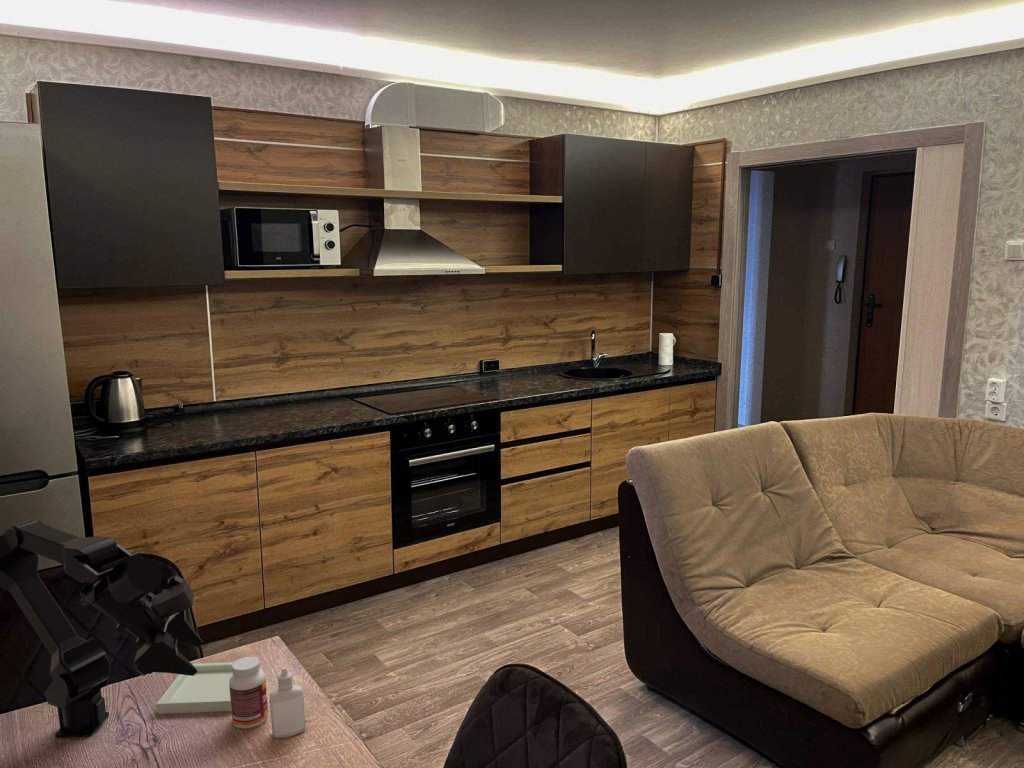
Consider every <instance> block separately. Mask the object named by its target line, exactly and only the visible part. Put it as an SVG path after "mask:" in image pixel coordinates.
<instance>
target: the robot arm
mask: <svg viewBox="0 0 1024 768" xmlns="http://www.w3.org/2000/svg"><path fill="white" fill-rule="evenodd" d="M39 556H41V557H44V558H46V559H48V560H51V561H53V562H57V563H59V564H61V565H63V568H64V573H65V574H66V575H68V576H69V577H71V578H72V579H74V580H76V581H77V582H79V583H86V584H85V585H84V586H83V588H82V589H81V590H80V591H79V594H80V597H81V598H80V605H81V606H83V607H86V606H87V605H89V604H90V605H92V606H93V607H94V608H96V609H97V610H99V611H100V612H101V613H103V614H104V615H106V616H107V617H108V618H110V619H111V620H112V621H114V622H115V623H116V624H117V625H116V627H115V629H116V630H117V631H118V632H120V633H122V631H124V630H126V631H128V632H129V633H130V634H132V635H133V636H134V637H136V641H135V644H136V645H138V646H139V647H140V648H139V649H138V650H137V652H136V654H135V657H134V661H133V670H134V671H135V672H137V673H138V674H140V675H141V676H142V677H145V676H146V675H151V674H152V673H162V674H163V673H164V674H174V675H179V674H181V675H189V676H194V675H195V674H196V673H197V669H196V668H195V667H194V666H193V665H192V664H193V663H191V661H189V659H187V658H186V656H184V655H183V654H182V653H181V652H180V651H179V650H178V641H179V642H182V643H185V644H187V645H189V646H193V647H197V648H199V647H200V646H202V645H203V640H202V639H201V638H200V636H199V634H198V633H197V631H196V630H195V629H194V627H193V626H192V625H191V623H190V621H189V619H188V618H187V615H186V613H187V612H186V610H188V609H190V608H191V607H192V606H193V605H194V598H195V594H194V592H193V591H192V589H191V582H190V581H187V580H186V578H185V579H183V578H182V577H180V576H178V575H176V574H175V575H173V576H171V577H169V578H168V579H167V582H166V588H164V589H162V591H161V592H159V593H157V594H154V593H152V592H153V591H155V590H156V589H157V588H158V587H160V585H161V583H162V581H163V576H164V574H163V571H162V568H161V565H160V564H158V563H157V562H156V561H155V560H153V559H150V558H147V557H143V555H142V554H141V551H137V552H134V553H131V552H130V551H128V550H127V549H126V548H125V547H123V546H122V545H120V544H119V543H117V542H116V540H115V539H113V538H111V537H107V536H86V537H81V536H80V537H79V536H77V535H75V534H71V533H68V532H66V531H63V530H60V529H57V528H55V527H52V526H50V525H47V524H44V523H43V522H42V521H41V520H39V519H29V520H27V521H26V520H25V521H23V522H19V523H16V524H13V525H11V526H10V527H9V528H7V529H6V530H5V531H4V532H3V533H2V534H1V535H0V588H1V589H3V590H6V591H7V592H9V593H10V594H11V596H12V598H13V599H14V601H15V602H16V604H17V605H18V607H19V608H20V610H21V611H22V613H23V614H24V616H25V618H26V619H27V620H28V622H29V624H30V625H31V627H32V628H33V630H34V631H35V633H36V635H37V636H38V639H40V642H41V643H42V644H43V646H44V647H45V649H46V650H47V652H48V654H49V655H50V657H51V658H50V659H51V660H50V669H49V675H50V677H51V679H52V682H51V683H50V684H49V685H48V687H47V688H46V690H45V691H44V693H43V694H44V696H45V698H46V699H45V700H46V702H47V704H48V705H50V706H53V707H56V708H57V715H58V723H59V729H58V730H57V731H56V732H55V734H54V737H55V738H68V737H69V738H70V737H71V738H72V737H73V738H74V737H90V736H92V735H94V733H95V732H96V731H97V730H98V729H99V728H100V726H102V724H103V723H104V722H105V720H106V719H107V718H108V717H109V715H110V713H109V711H107V708H106V700H105V697H104V696H102V689H103V688H105V687H107V686H109V683H110V678H111V672H112V663H111V660H110V658H109V657H108V653H107V652H106V651H105V650H104V649H103V648H102V647H101V645H100V643H99V640H98V639H96V638H95V637H92V638H89V639H85V638H82V637H80V636H79V635H78V634H77V632H76V630H75V629H74V627H73V626H72V625H71V622H70V621H69V620H68V618H67V617H66V615H65V614H64V612H63V610H62V609H61V608H60V606H59V604H58V603H57V601H55V598H54V597H53V596H52V594H51V592H50V591H49V590H48V588H47V587H46V584H45V583H44V582H43V580H42V579H41V577H40V575H39V574H38V568H39V559H40V557H39Z"/></svg>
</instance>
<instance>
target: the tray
mask: <svg viewBox="0 0 1024 768" xmlns="http://www.w3.org/2000/svg"><path fill="white" fill-rule="evenodd" d="M234 662H235V661H229V662H228V661H227V662H203V663H202V662H200V663H191V664H192V665H193V666H194V667H195V668H196V669H197V673H196V674H195V675H194V676H189V675H181V674H177V677H176V678H175V679H174V681H173V682H172V683H171V684H170V685H169V687H168V688H167V690H165V692H164V693H163V695H162V696H161V697H160V699H159V700H158V701H157V703H156V712H157V715H159V714H160V715H163V714H164V715H165V714H184V713H185V714H186V713H189V714H190V713H191V714H192V713H208V712H209V713H210V712H213V713H215V712H232V711H231V700H230V689H229V680H230V678H231V676H232V675H233V673H232V664H233V663H234Z"/></svg>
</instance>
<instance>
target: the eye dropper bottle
mask: <svg viewBox="0 0 1024 768" xmlns="http://www.w3.org/2000/svg"><path fill="white" fill-rule="evenodd" d="M277 686H278V687H277V688H275V689H273V690H272V691H271V692H270V694H269V708H270V709H269V710H270V719H271V721H270V722H271V723H270V724H271V731H272V736H273V737H274V738H275V739H283V738H284V739H285V738H290V737H293V736H296V735H298V734H300V733H303V732H304V731H305V730H306V727H307V725H306V723H307V722H306V712H305V710H306V709H305V697H304V690H303V687H302V686H301V685H299V684H294V681H293V674H292V673H291V672H290V671H288V669H287V667H286V666H284V667H282V668H281V673H279V674H278V676H277Z"/></svg>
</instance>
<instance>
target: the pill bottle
mask: <svg viewBox="0 0 1024 768" xmlns="http://www.w3.org/2000/svg"><path fill="white" fill-rule="evenodd" d="M233 662H234V663H233V664H232V673H233V675H232V676H231V678H230V680H229V689H230V700H231V711H230V712H231V721H232V724H233V726H234V727H236V728H238V729H243V730H245V729H247V730H248V729H253V728H256V727H258V726H260V725H262V724H263V723H264V722H266V720H267V719H268V717H269V707H268V695H267V682H266V673H265V671H264V670H262V668H261V663H260V662H261V661H260V659H259V657H256V656H244V657H240V658H239V659H236V660H235V661H233Z"/></svg>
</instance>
